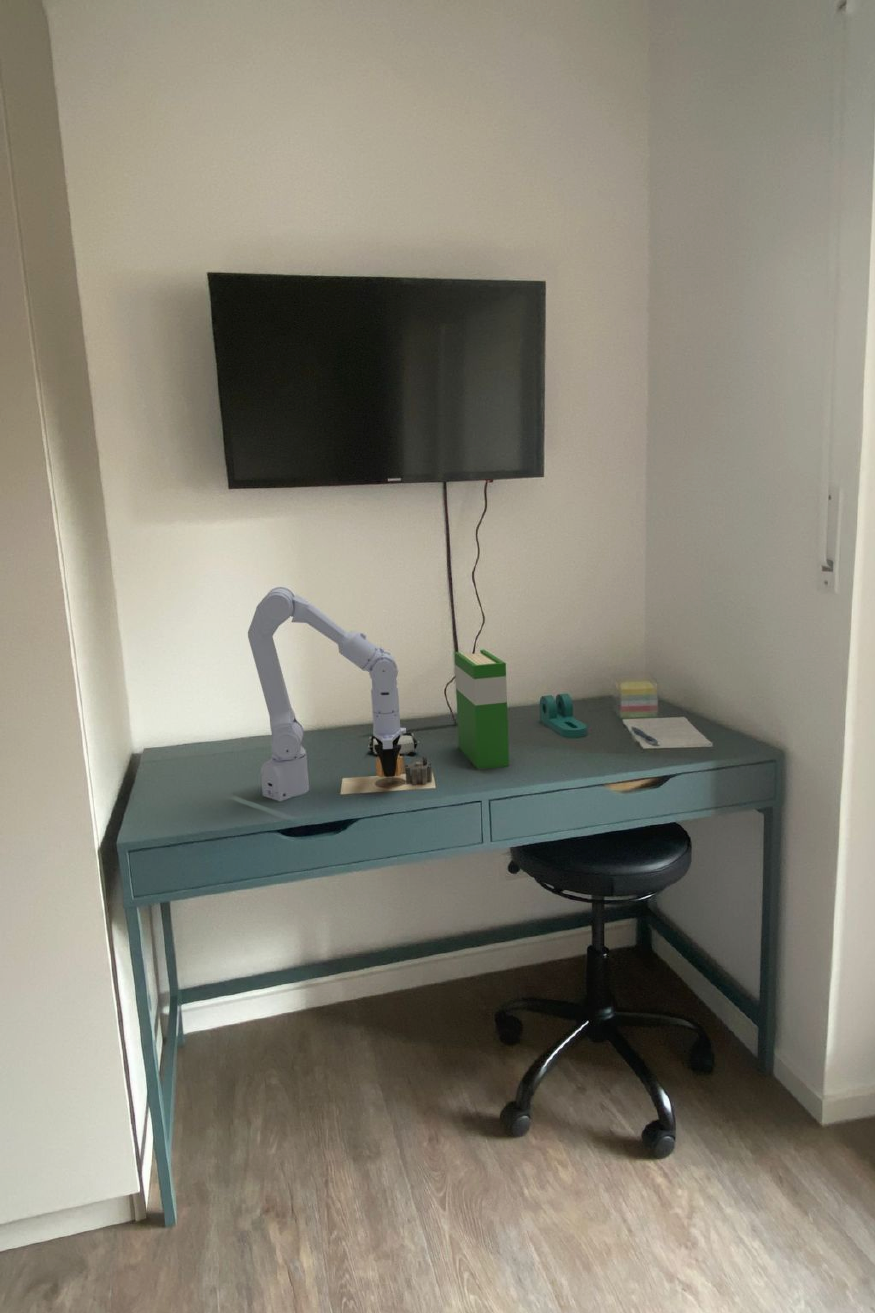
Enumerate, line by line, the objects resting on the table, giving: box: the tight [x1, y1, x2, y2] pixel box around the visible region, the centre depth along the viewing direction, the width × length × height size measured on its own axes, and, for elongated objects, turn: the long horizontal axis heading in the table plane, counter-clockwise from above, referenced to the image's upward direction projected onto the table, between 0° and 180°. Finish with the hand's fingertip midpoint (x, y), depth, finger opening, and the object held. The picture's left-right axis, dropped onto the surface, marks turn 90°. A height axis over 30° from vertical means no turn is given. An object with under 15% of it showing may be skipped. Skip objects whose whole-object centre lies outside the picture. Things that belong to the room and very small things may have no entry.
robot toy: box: [367, 731, 420, 756], centre depth 201 cm, size 12×4×15 cm
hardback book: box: [454, 649, 510, 771], centre depth 192 cm, size 18×7×24 cm, turn 13°
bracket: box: [539, 693, 588, 739], centre depth 213 cm, size 18×7×8 cm, turn 14°
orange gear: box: [375, 754, 404, 778], centre depth 176 cm, size 6×6×4 cm
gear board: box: [340, 756, 437, 795], centre depth 176 cm, size 20×10×6 cm, turn 94°
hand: (389, 771), depth 176 cm, fingers closed on orange gear, 6 cm apart
